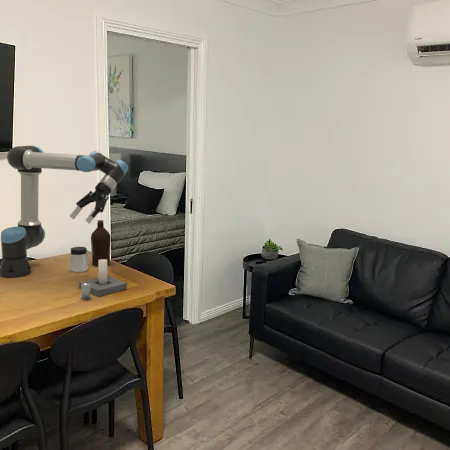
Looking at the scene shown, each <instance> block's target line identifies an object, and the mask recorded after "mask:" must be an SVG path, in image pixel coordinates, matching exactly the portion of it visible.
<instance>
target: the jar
mask: <svg viewBox="0 0 450 450" xmlns="http://www.w3.org/2000/svg"><path fill="white" fill-rule="evenodd" d="M88 255H89V254H88V249H87V247H86V246H73V247H71V248H70V253H69V267H70V271H71V272H73V273H84V272H86V271H88V270H89V266H88V264H89V262H88V258H89V257H88Z"/></svg>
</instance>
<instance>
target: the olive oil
mask: <svg viewBox="0 0 450 450" xmlns="http://www.w3.org/2000/svg"><path fill="white" fill-rule="evenodd" d="M96 224H97V226H96V228H95V229H94V231H92V233H91V235H90V245H91V259H92V260H91V261H92V266H94V267H99V266H98V260H100V259H106V260H107V266H110V264H111V263H110V261H111V238H112V237H111V234H110V232H109V231H108V230H107V229H106V228H105V225H104V224H105V222H104V220H103V219H98V220H97V223H96Z"/></svg>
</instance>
